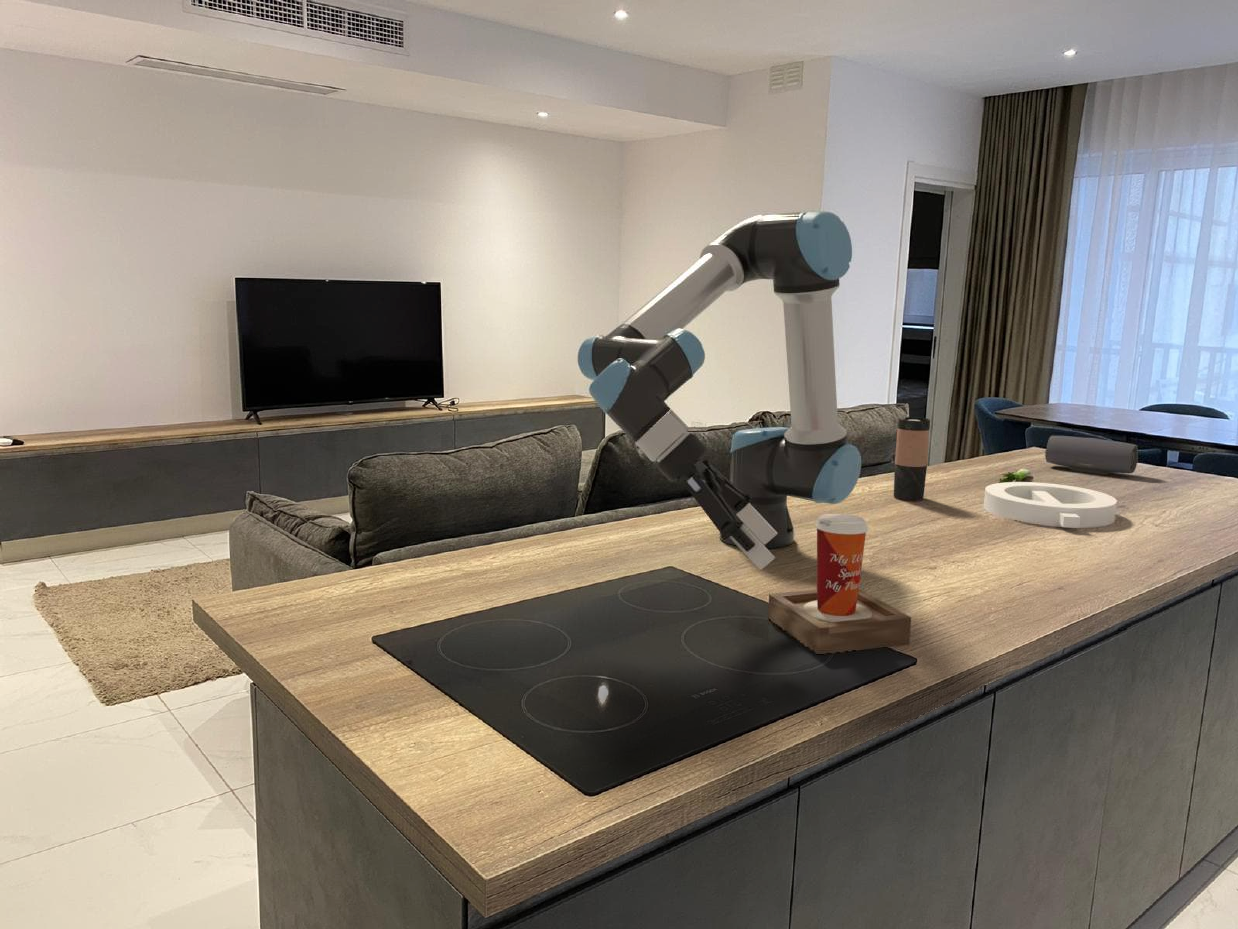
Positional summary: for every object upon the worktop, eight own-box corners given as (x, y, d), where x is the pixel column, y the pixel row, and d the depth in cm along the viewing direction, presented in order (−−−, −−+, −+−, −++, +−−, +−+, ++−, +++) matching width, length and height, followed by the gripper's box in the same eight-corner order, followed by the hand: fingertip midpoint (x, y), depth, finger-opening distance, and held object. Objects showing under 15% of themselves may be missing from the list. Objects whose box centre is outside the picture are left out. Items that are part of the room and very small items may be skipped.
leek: (1036, 484, 255) (1022, 494, 230) (1010, 484, 259) (992, 494, 233) (1035, 462, 255) (1021, 470, 230) (1009, 463, 259) (992, 471, 233)
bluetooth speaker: (1136, 475, 259) (1140, 441, 257) (1127, 479, 253) (1131, 444, 251) (1053, 464, 275) (1057, 432, 273) (1043, 468, 268) (1046, 435, 266)
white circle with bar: (1025, 495, 231) (1027, 477, 230) (1138, 518, 209) (1140, 498, 208) (959, 509, 216) (961, 489, 215) (1073, 535, 193) (1075, 513, 192)
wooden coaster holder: (767, 618, 140) (769, 594, 139) (851, 609, 144) (853, 585, 143) (818, 655, 126) (819, 628, 125) (909, 643, 130) (911, 617, 129)
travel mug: (926, 502, 221) (932, 421, 217) (893, 500, 223) (899, 420, 219) (922, 495, 229) (928, 417, 225) (891, 493, 230) (896, 416, 226)
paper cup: (833, 621, 130) (839, 527, 127) (799, 605, 136) (804, 515, 134) (874, 613, 133) (881, 522, 131) (839, 598, 140) (845, 510, 137)
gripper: (666, 450, 148) (755, 544, 148) (640, 480, 124) (745, 592, 124) (700, 419, 146) (789, 515, 146) (679, 444, 122) (786, 558, 122)
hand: (769, 551), depth 135 cm, fingers open, 13 cm apart
